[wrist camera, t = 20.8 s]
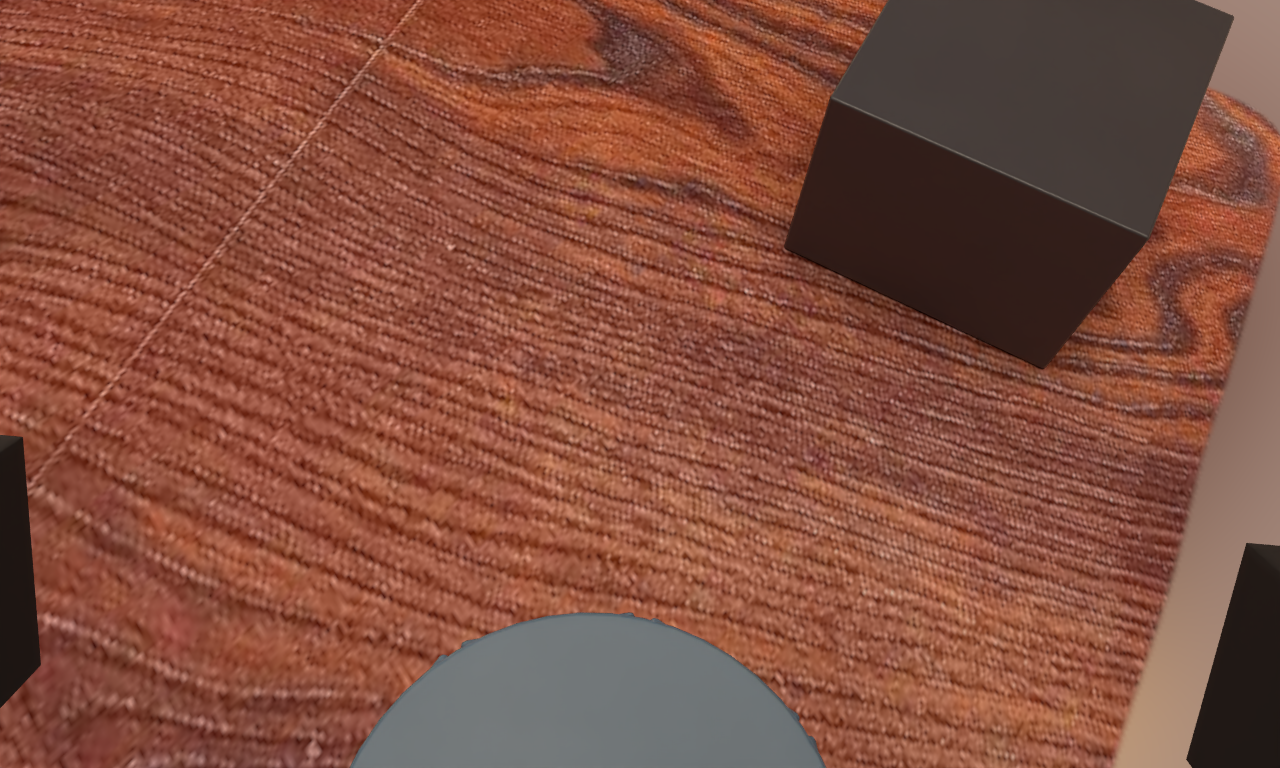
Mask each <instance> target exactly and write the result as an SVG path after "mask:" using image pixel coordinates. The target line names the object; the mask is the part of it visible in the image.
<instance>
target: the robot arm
mask: <svg viewBox="0 0 1280 768" xmlns="http://www.w3.org/2000/svg"><path fill="white" fill-rule="evenodd" d="M40 665H41V661H40V648H39V636H38V623H37V610H36V598H35V585H34V573H33V560H32V547H31V535H30V522H29V509H28V497H27V484H26V472H25V459H24V446H23V437H17V436H6V435H0V708H1V707H2V706H3V705H4V704H5V703H6V701H7V700H8V699H9V698H10V697H11V696H12V695H13V694H14V693H15V692H16V691H17V690H18V689H19V688H20V687H21V685H22V684H23V683H24V682H25V681H26V680H27V679H28V678H29V677H30V676H31V675H32V674H33V673H34V672H35V671H36V670H37V668H38V667H39V666H40ZM1186 760H1187V761H1188V762H1189V764H1190V765H1191V767H1192V768H1280V546H1275V545H1264V544H1252V543H1246V547H1245V551H1244V554H1243V557H1242V561H1241V565H1240V568H1239V572H1238V575H1237V580H1236V583H1235V586H1234V590H1233V594H1232V597H1231V601H1230V604H1229V608H1228V611H1227V615H1226V619H1225V622H1224V626H1223V629H1222V633H1221V637H1220V640H1219V644H1218V647H1217V651H1216V655H1215V658H1214V662H1213V665H1212V669H1211V673H1210V676H1209V680H1208V683H1207V687H1206V691H1205V694H1204V698H1203V702H1202V705H1201V709H1200V712H1199V716H1198V719H1197V723H1196V727H1195V730H1194V734H1193V738H1192V742H1191V745H1190V748H1189V752H1188V755H1187V759H1186Z"/></svg>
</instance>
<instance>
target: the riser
mask: <svg viewBox="0 0 1280 768" xmlns="http://www.w3.org/2000/svg"><path fill="white" fill-rule="evenodd" d="M1233 20H1234V16H1233V15H1230V14H1227V13H1225V12H1222V11H1220V10H1218V9H1215V8H1212V7H1210V6H1207V5H1205V4H1203V3H1200V2H1198V1H1195V0H888V1H887V3H886V5H885V6H884V8H883V10H882V12H881V13H880V15H879V17H878V18H877V20H876V22H875V23H874V25H873V27H872V28H871V30H870V32H869V33H868V35H867V37H866V38H865V40H864V42H863V43H862V45H861V47H860V48H859V50H858V52H857V53H856V55H855V57H854V58H853V60H852V62H851V63H850V65H849V67H848V68H847V70H846V72H845V74H844V75H843V77H842V79H841V80H840V82H839V84H838V85H837V87H836V89H835V90H834V92H833V94H832V95H831V97H830V100H829V103H828V106H827V109H826V113H825V116H824V119H823V122H822V125H821V129H820V132H819V135H818V138H817V142H816V145H815V148H814V151H813V155H812V158H811V161H810V164H809V167H808V171H807V174H806V177H805V180H804V184H803V187H802V190H801V193H800V197H799V200H798V203H797V206H796V209H795V213H794V216H793V219H792V222H791V226H790V229H789V232H788V235H787V239H786V242H785V245H784V247H785V248H786V249H788V250H790V251H793V252H795V253H797V254H799V255H801V256H803V257H805V258H807V259H810V260H812V261H814V262H816V263H818V264H820V265H822V266H825V267H827V268H829V269H831V270H833V271H835V272H837V273H840V274H842V275H844V276H846V277H848V278H850V279H852V280H854V281H857V282H859V283H861V284H863V285H865V286H867V287H869V288H872V289H874V290H876V291H878V292H880V293H882V294H884V295H887V296H889V297H891V298H893V299H895V300H897V301H899V302H901V303H904V304H906V305H908V306H910V307H912V308H914V309H916V310H919V311H921V312H923V313H925V314H927V315H929V316H931V317H933V318H936V319H938V320H940V321H942V322H944V323H946V324H948V325H951V326H953V327H955V328H957V329H959V330H961V331H963V332H966V333H968V334H970V335H972V336H974V337H976V338H978V339H980V340H983V341H985V342H987V343H989V344H991V345H993V346H995V347H998V348H1000V349H1002V350H1004V351H1006V352H1008V353H1010V354H1012V355H1015V356H1017V357H1019V358H1021V359H1023V360H1025V361H1027V362H1030V363H1032V364H1034V365H1036V366H1038V367H1040V368H1043V369H1044V368H1045V367H1046V366H1047V365H1048V364H1049V362H1050V361H1051V360H1052V359H1053V358H1054V356H1055V355H1056V354H1057V353H1058V351H1059V350H1060V349H1061V348H1062V346H1063V345H1064V344H1065V343H1066V341H1067V340H1068V339H1069V338H1070V336H1071V335H1072V334H1073V333H1074V331H1075V330H1076V329H1077V328H1078V326H1079V325H1080V324H1081V323H1082V321H1083V320H1084V319H1085V318H1086V316H1087V315H1088V314H1089V313H1090V311H1091V310H1092V309H1093V308H1094V307H1095V305H1096V304H1097V303H1098V302H1099V300H1100V299H1101V298H1102V297H1103V295H1104V294H1105V293H1106V292H1107V290H1108V289H1109V288H1110V287H1111V285H1112V284H1113V283H1114V282H1115V280H1116V279H1117V278H1118V277H1119V275H1120V274H1121V273H1122V272H1123V270H1124V269H1125V268H1126V267H1127V265H1128V264H1129V263H1130V262H1131V261H1132V259H1133V258H1134V257H1135V256H1136V254H1137V253H1138V252H1139V251H1140V249H1141V248H1142V247H1143V246H1144V244H1145V243H1146V242H1147V241H1148V239H1149V238H1150V235H1151V233H1152V230H1153V228H1154V225H1155V222H1156V220H1157V217H1158V215H1159V212H1160V209H1161V207H1162V204H1163V202H1164V199H1165V196H1166V194H1167V191H1168V189H1169V186H1170V183H1171V181H1172V178H1173V176H1174V173H1175V170H1176V168H1177V165H1178V163H1179V160H1180V157H1181V155H1182V152H1183V150H1184V147H1185V145H1186V142H1187V139H1188V137H1189V134H1190V132H1191V129H1192V126H1193V124H1194V121H1195V119H1196V116H1197V113H1198V111H1199V108H1200V106H1201V103H1202V100H1203V98H1204V95H1205V93H1206V90H1207V87H1208V85H1209V82H1210V80H1211V77H1212V74H1213V72H1214V69H1215V67H1216V64H1217V61H1218V59H1219V56H1220V53H1221V51H1222V49H1223V46H1224V43H1225V41H1226V38H1227V36H1228V33H1229V30H1230V28H1231V25H1232V23H1233Z"/></svg>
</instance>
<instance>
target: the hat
mask: <svg viewBox="0 0 1280 768" xmlns="http://www.w3.org/2000/svg"><path fill="white" fill-rule="evenodd" d="M350 768H826V766H825V764H824V762H823V760H822V758H821V756H820V754H819V752H818V748H817V744H816V741H815V739H814V738H813V737H812V736H808V734H807V733H806V731H805V730H804V728H803V726H802V725H801V724H800V723H799V716H798V714H797V713H796V712H794V711H793V710H791V709H790V708H788V707H787V706H786V705H785V704H784V702H783V701H782V700H781V699H780V698H779V697H778V696H777V695H776V694H775V693H774V692H773V691H772V690H771V689H770V688H769V687H768V686H767V685H766V684H765V683H764V682H763V681H762V680H761V679H760V678H759V677H758V676H757V675H755V674H754V673H753V672H752V671H750V670H749V669H748V668H746V667H745V666H744V665H742V664H741V663H740V662H739V661H737V660H736V659H735V658H733V657H732V656H731V655H729V654H727V653H725V652H724V651H722V650H720V649H719V648H717V647H715V646H714V645H712V644H710V643H708V642H707V641H705V640H703V639H701V638H699V637H696V636H694V635H692V634H689V633H687V632H685V631H682V630H680V629H678V628H675V627H673V626H669V625H666V624H664V623H663V622H662V621H660V620H659V619H656V618H653V619H652V620H648V619H645V618H640V617H635V616H634V614H633V613H623V614H613V613H571V614H562V615H552V616H546V617H541V618H537V619H533V620H529V621H525V622H521V623H516V624H514V625H511V626H508V627H506V628H503V629H500V630H498V631H495V632H492V633H490V634H487V635H485V636H483V637H481V638H479V639H473V640H467V641H465V642H463V643H462V646H461V648H460V649H458V650H456V651H455V652H454V653H452V654H451V655H449V656H447V655H441V656H440V657H439V658H438V659H437V660H436V662H435V663H434V664H433V666H432V667H431V668H430V669H429V670H428V671H427V672H426V673H425V674H423V675H422V676H421V677H420V678H419V679H418V680H417V681H416V682H415V683H413V684H412V685H411V686H410V687H409V688H408V689H407V690H406V691H405V692H403V693H402V694H401V696H400V697H399V698H398V699H397V700H396V701H395V702H394V704H393V705H392V706H391V707H390V708H389V709H388V711H387V712H386V713H385V714H384V715H383V716H382V717H381V719H380V720H379V721H378V723H377V724H376V725H375V727H374V728H373V730H372V731H371V733H370V734H369V736H368V737H367V739H366V740H365V742H364V743H363V745H362V746H361V747H360V749H359V751H358V752H357V754H356V756H355V758H354V760H353V762H352V764H351V766H350Z"/></svg>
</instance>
